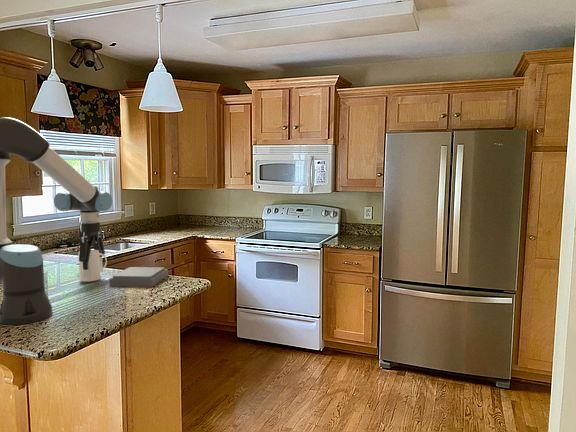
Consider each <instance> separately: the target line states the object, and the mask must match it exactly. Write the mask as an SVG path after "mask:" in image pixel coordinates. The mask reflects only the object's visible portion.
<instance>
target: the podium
mask: <svg viewBox="0 0 576 432" xmlns="http://www.w3.org/2000/svg"><path fill="white" fill-rule="evenodd" d="M167 277H169V268H165V267H162V266H161V267H160V266H159V267H157V266H156V267H152V266H151V267H150V266H146V267H145V266H129V267H127V268H125V269H124V270H122V271H120V272H118V273H116V274H114V275H112V277H110V278H109V287H138V288H139V287H142V288H143V287H146V288H148V287H149V288H150V287H151V288H152V287H154V286H156V285H157V284H159V283H160V282H162V281H163V280H164V279H167Z"/></svg>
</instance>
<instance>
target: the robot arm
mask: <svg viewBox="0 0 576 432" xmlns="http://www.w3.org/2000/svg"><path fill="white" fill-rule="evenodd" d="M50 145H51V144H50V142H49V141H48V140H47V139H46V138H45V137H44V136H43V135H42V134H41V133H39V131H37V130H36V129H34V128H33V127H31V126H30V125H28V124H27V123H25V122H23V121H21V120H19V119H16V118H13V117H2V116H1V117H0V285H2V293H3V294H2V295H3V297H2V300H1V305H0V324H2V325H10V326H11V325H12V326H14V325H15V326H16V325H25V324H30V323H36V322H38V321H39V322H40V321H42V320H44V319H47V318H49V317H51V316H52V314H53V306H52V304H51V302H50V299H49V297H48V295H47V293H46V291H45V274H44V273H45V272H44V258H43V253H42V250H41V248H40V247H38V246H36V245H33V244H26V243H25V244H19V243H18V244H17V243H16V244H13V241H12V240H11V239H9V237H8V236H7V233H8V232H7V199H6V198H7V197H6V196H7V195H6V194H7V192H6V191H7V190H6V183H7V182H6V166H7V165H8V164H9V163H10V162H11V155H14V156H17V157H20V158H21V159H23V160H24V161H25V162H27V163H32V164H33V165H35V166H36V167H37V168H39V169H40V170H41V171H42V172H44V173H45V174H46V175H47V176H48V177H50V178H51V179H52V180H54V182H56V183H57V184H59V185H60V186H61V187H62V188H63V189H64V190H66V191H61V192H58V193H56V194H55V196H54V198H53V204H54V207H55V208H56V209H57V210H58V211H60V212H68V211H78V212H79V213H80V222H81V224H80V229H81V230H80V231H81V232H82V233H84V235H83V236H81V237H79V252H80V253H79V256H78V262H79V261H80V262H83V276H84V277H91V273H90V261H89V256H90V251H91V250H92V247H93V250H99V253H102V254H104V255H105V254H106V251H105V246H104V240H103V233H102V232H100V231H101V228H102V227H101V213H100V212H107V211H109V210H110V209H111V207H112V205H113V197H112V195H111V194H110V193H109V192H106V191H99V187H98V186H97V185H93V184H92V183H91V182H89V181H88V180H87V179H86V178H85V177H84V176H83V175H82V174H81V173H79V172H78V171H77V170H76V169H75V168H73V166H71V164H69V163H68V162H67V161H66V160H65V158H63V157H62V156H60V155H59V154H58V153H57V152H56V151H55V150H54V149H53V148H52V147H51V146H50ZM105 256H106V255H105ZM99 260H100V268H102V267H104V265H103V256H102V255H99ZM103 271H104V269H103V270H102V271H100V273H103Z"/></svg>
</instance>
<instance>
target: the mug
mask: <svg viewBox="0 0 576 432" xmlns="http://www.w3.org/2000/svg"><path fill="white" fill-rule="evenodd" d="M79 253H80V251H78V256H77V257H79ZM99 255H102V257H104V259H105V263H104V265H103V267H102V268H100V260H99ZM89 261H90V273H91V277H84V276H83V262H80V261H79V260H78V266H79V267H78V269H79V279H78V280H79V281H80V282H95V281H98V280H99V281H100V280H101V278H102V275H101V272H100V271H102V270H103V271H104V269H105V268H106V266H107V265H108V258H107V256H106V255H104V254H102V253H99V250H94V249H91V251H90V256H89ZM103 271H102V272H103Z"/></svg>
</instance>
